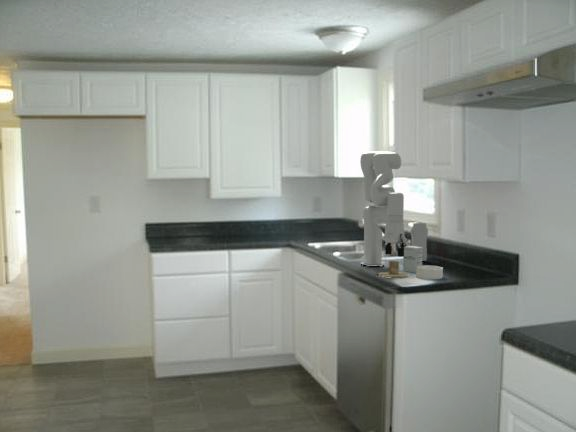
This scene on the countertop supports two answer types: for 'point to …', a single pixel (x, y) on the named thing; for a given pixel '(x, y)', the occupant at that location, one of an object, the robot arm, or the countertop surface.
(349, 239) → the countertop surface
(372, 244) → the robot arm
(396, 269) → the lid
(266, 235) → the countertop surface
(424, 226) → the tall pale column
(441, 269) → the bowl
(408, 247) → the supplement box
